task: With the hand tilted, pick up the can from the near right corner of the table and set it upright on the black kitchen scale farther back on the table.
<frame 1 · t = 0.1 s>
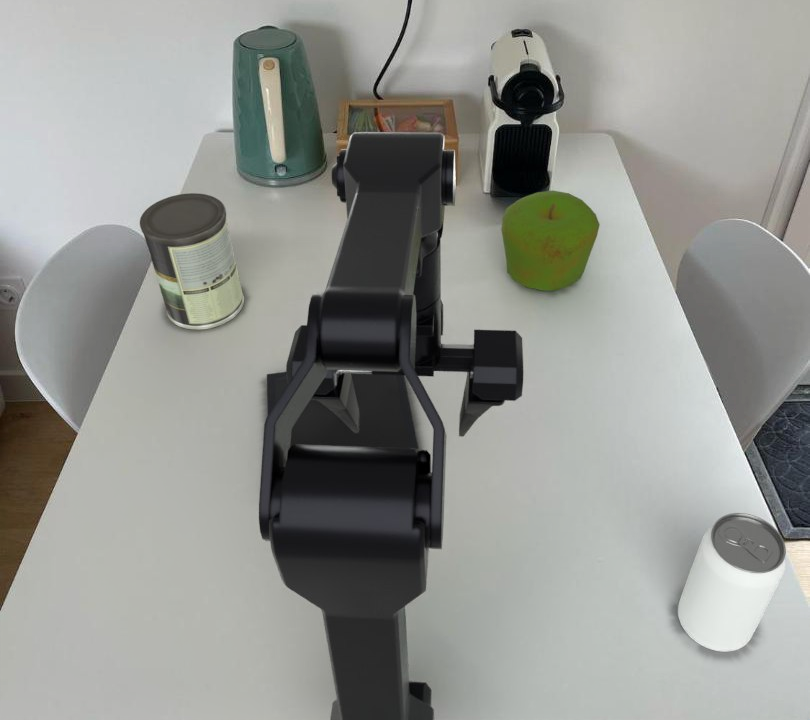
hand: (409, 430, 71), 14 cm above the table, tool pointing down, fingers open, 9 cm apart
scale: (340, 427, 91), on the table
coffee can: (206, 306, 108), on the table
apple: (544, 277, 110), on the table
can: (713, 621, 72), on the table
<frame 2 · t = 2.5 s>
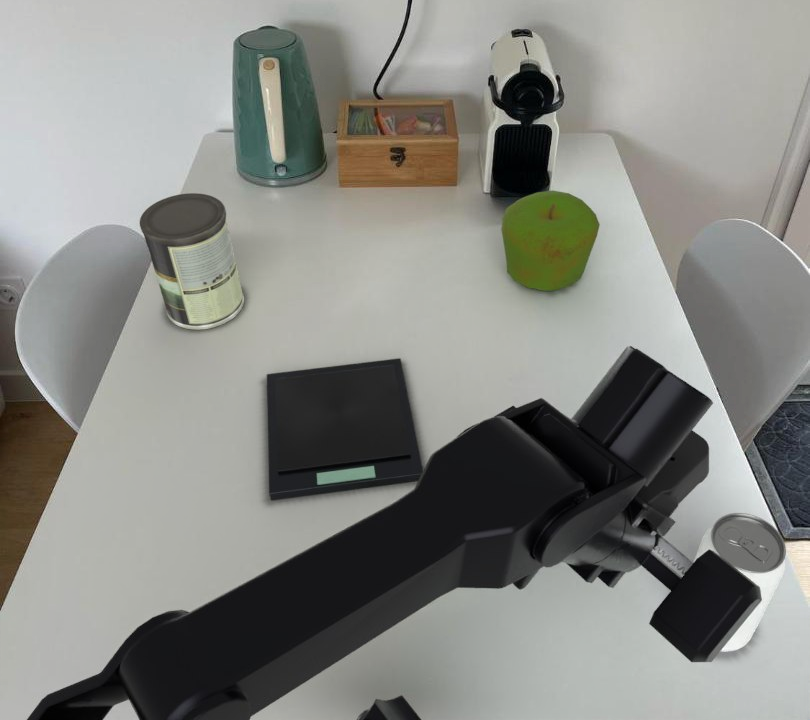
hand: (652, 546, 62), 13 cm above the table, tool tilted 40°, fingers open, 9 cm apart
nothing on the table moved.
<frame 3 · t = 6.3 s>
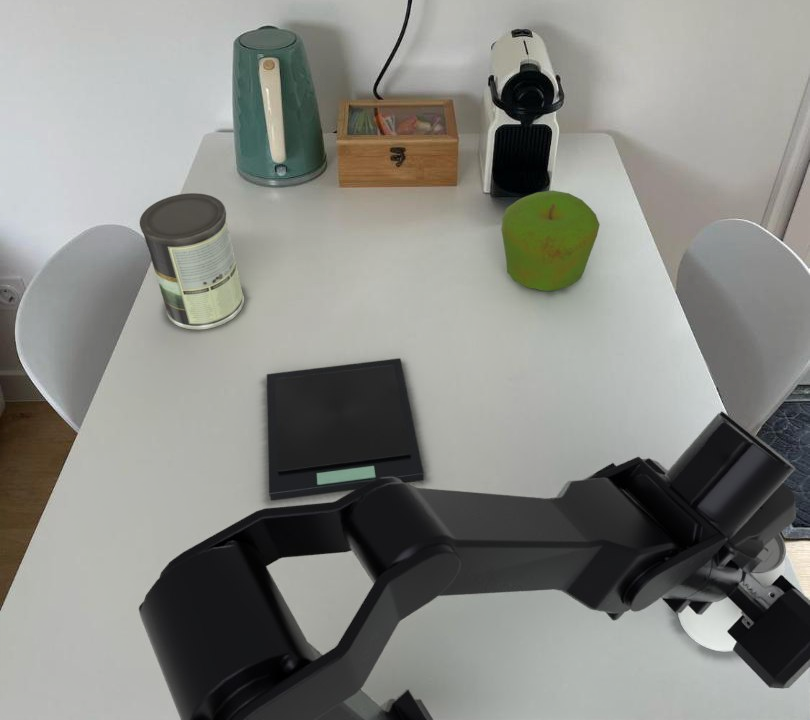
hand: (743, 571, 68), 7 cm above the table, tool tilted 45°, fingers closed on can, 6 cm apart
can: (713, 621, 72), on the table, touching gripper
everything else where it was.
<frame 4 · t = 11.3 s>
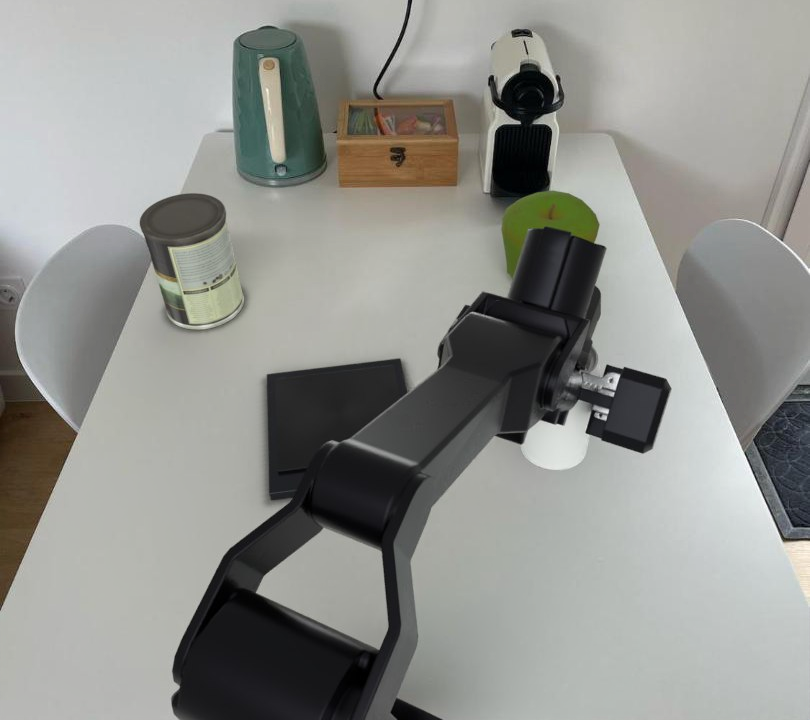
hand: (564, 390, 75), 13 cm above the table, tool tilted 45°, fingers closed on can, 6 cm apart
can: (552, 449, 79), point 7 cm above the table, touching gripper
everything else where it was.
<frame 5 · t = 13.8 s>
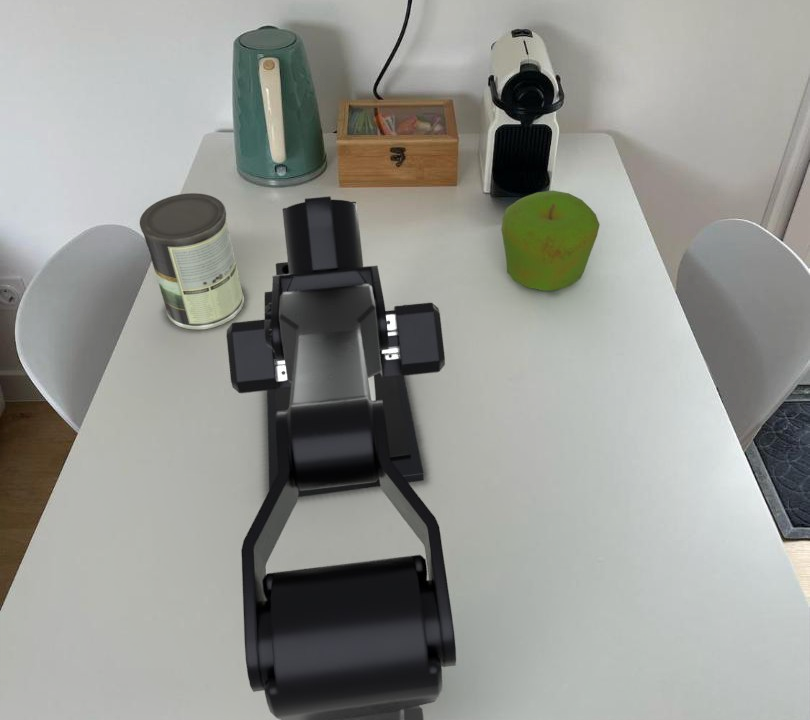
hand: (338, 354, 80), 13 cm above the table, tool tilted 45°, fingers closed on can, 6 cm apart
can: (345, 411, 84), point 6 cm above the table, touching gripper
everything else where it was.
when the fingers open (8 cm above the table, at t = 16.3 s): can stays where it is, resting on scale.
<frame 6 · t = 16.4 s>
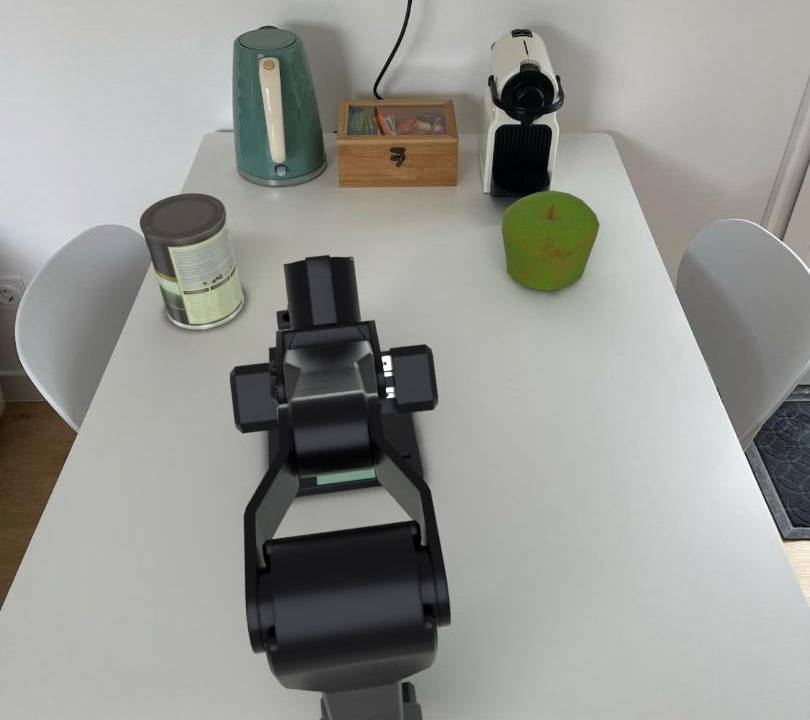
hand: (336, 389, 84), 8 cm above the table, tool tilted 45°, fingers open, 6 cm apart
can: (342, 443, 87), point 1 cm above the table, touching scale
everything else where it was.
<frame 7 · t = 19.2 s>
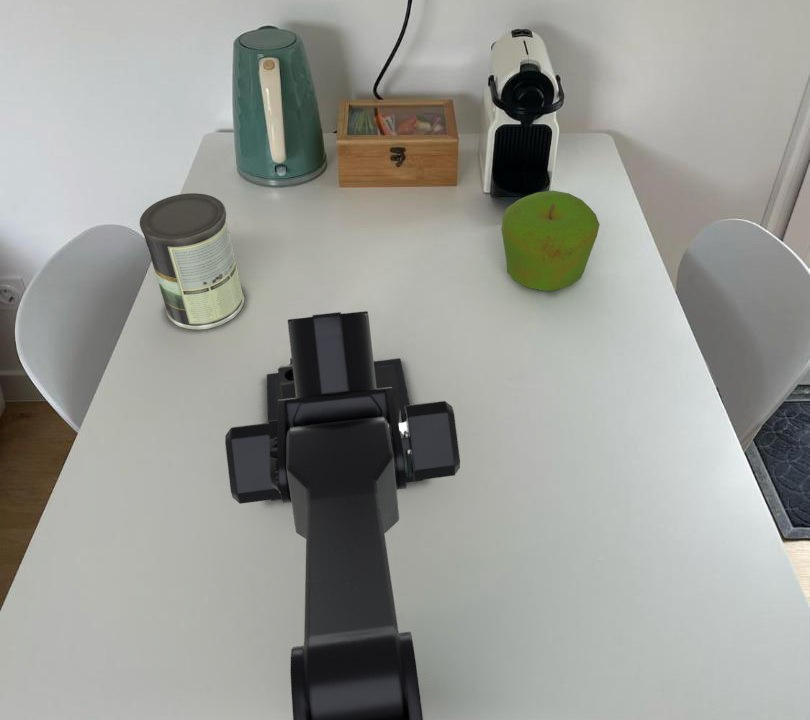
hand: (344, 445, 75), 10 cm above the table, tool tilted 45°, fingers open, 9 cm apart
nothing on the table moved.
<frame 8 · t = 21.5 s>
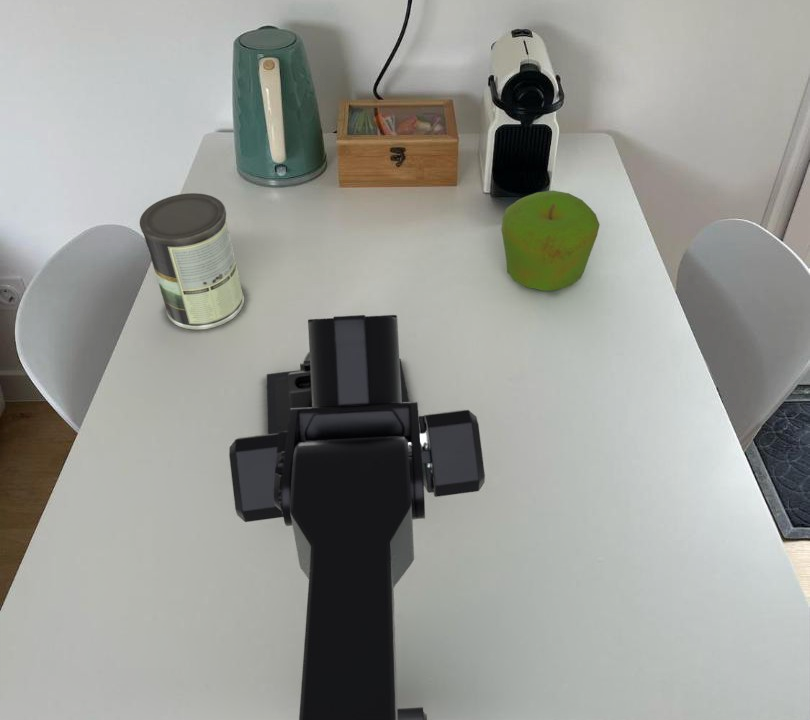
hand: (356, 456, 70), 14 cm above the table, tool tilted 45°, fingers open, 9 cm apart
nothing on the table moved.
at the end: can inside the target area on the scale (0.7 cm from its centre), point 1.4 cm above the scale's base; can tilted 0°; the gripper is holding nothing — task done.
